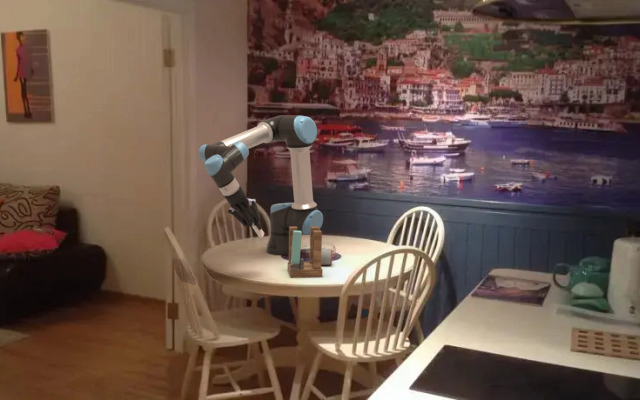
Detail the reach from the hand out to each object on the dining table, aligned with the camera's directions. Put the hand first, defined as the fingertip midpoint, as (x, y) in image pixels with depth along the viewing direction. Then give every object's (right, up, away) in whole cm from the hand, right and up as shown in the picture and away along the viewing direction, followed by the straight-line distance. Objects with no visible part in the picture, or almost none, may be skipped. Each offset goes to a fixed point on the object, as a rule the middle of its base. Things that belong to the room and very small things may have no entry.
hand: (262, 235), depth 254 cm
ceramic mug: (+25, -14, +19) cm, 34 cm away
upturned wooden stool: (+17, -16, +4) cm, 24 cm away
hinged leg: (+13, -13, -1) cm, 19 cm away
